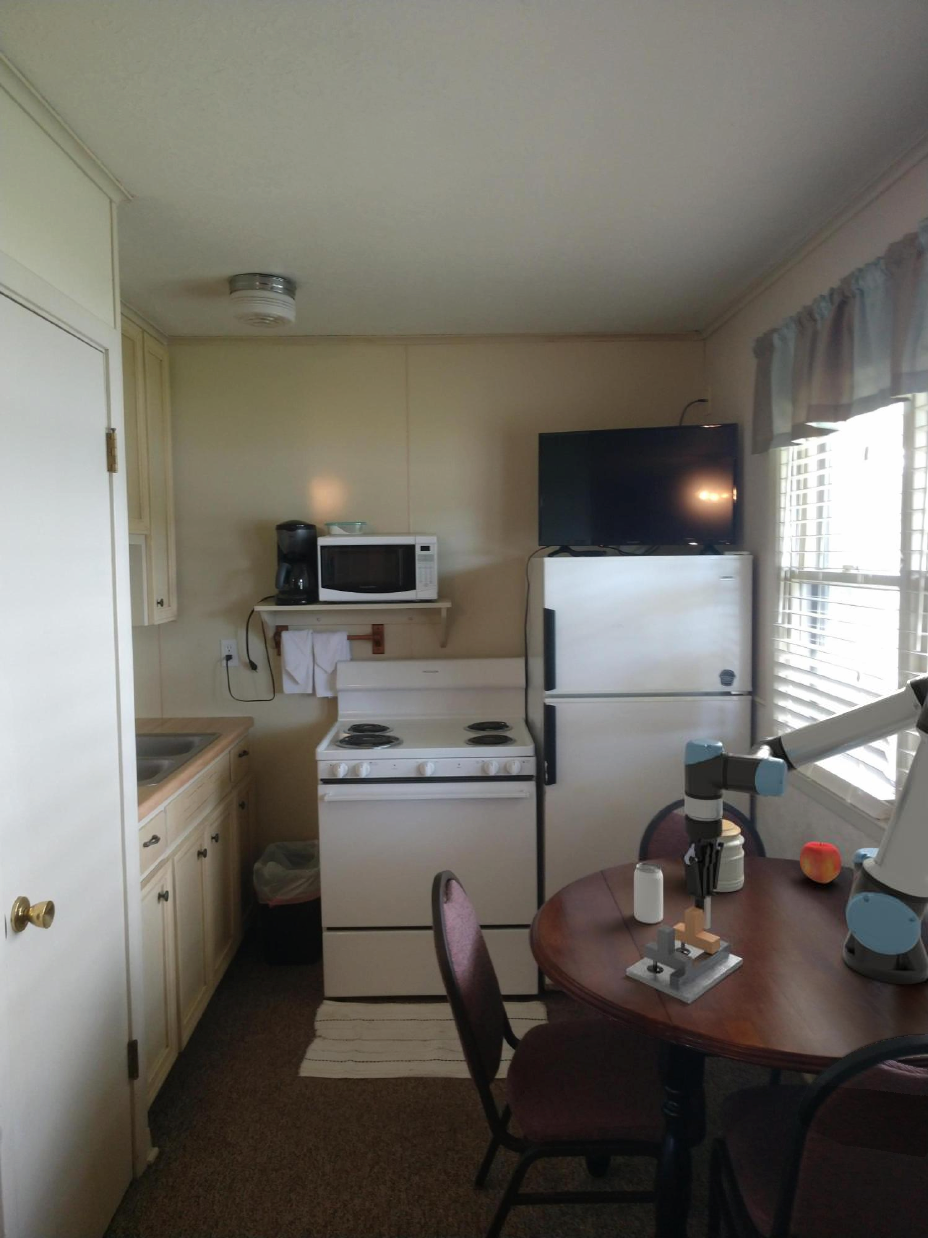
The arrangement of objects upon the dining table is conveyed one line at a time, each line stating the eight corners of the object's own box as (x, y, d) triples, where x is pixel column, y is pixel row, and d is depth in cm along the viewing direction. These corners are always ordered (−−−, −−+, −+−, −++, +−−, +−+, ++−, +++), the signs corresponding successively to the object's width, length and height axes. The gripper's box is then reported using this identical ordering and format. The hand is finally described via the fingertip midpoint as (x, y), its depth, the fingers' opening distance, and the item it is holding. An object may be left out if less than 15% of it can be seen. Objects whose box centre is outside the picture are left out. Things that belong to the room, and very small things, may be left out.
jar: (683, 886, 192) (683, 817, 191) (699, 868, 203) (699, 804, 202) (736, 897, 185) (736, 826, 184) (750, 879, 196) (750, 812, 195)
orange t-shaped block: (720, 959, 153) (720, 916, 152) (712, 965, 151) (712, 921, 150) (680, 944, 160) (680, 902, 159) (672, 949, 158) (672, 906, 157)
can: (663, 925, 172) (663, 873, 171) (634, 923, 173) (634, 872, 172) (662, 912, 178) (662, 862, 177) (633, 910, 179) (633, 861, 178)
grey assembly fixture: (742, 964, 154) (742, 914, 154) (689, 1004, 141) (689, 949, 140) (681, 940, 165) (681, 893, 164) (626, 975, 151) (626, 924, 150)
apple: (848, 889, 189) (849, 849, 188) (809, 889, 189) (810, 850, 188) (830, 873, 198) (830, 835, 198) (793, 874, 198) (793, 836, 198)
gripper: (703, 804, 164) (703, 910, 165) (669, 818, 155) (669, 930, 157) (736, 812, 158) (735, 922, 160) (702, 827, 149) (702, 943, 151)
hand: (702, 926), depth 158 cm, fingers closed
